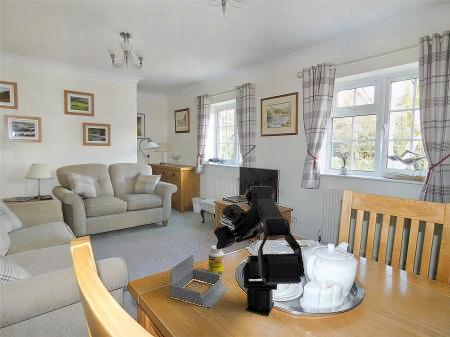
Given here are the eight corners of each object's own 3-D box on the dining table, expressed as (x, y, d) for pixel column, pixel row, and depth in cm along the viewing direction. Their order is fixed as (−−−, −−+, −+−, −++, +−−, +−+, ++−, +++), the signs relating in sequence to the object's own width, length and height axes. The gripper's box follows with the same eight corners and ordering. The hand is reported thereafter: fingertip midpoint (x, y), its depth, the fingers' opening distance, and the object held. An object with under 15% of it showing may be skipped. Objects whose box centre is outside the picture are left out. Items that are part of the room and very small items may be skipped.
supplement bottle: (206, 276, 96) (206, 248, 95) (210, 270, 101) (210, 243, 100) (221, 278, 94) (221, 250, 94) (225, 271, 100) (225, 244, 99)
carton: (229, 288, 87) (229, 261, 87) (211, 309, 75) (211, 278, 75) (192, 279, 93) (192, 254, 93) (170, 298, 81) (169, 269, 81)
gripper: (257, 194, 91) (233, 220, 100) (218, 200, 78) (194, 230, 86) (276, 220, 86) (249, 246, 94) (238, 232, 73) (210, 260, 81)
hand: (226, 244), depth 89 cm, fingers open, 9 cm apart
